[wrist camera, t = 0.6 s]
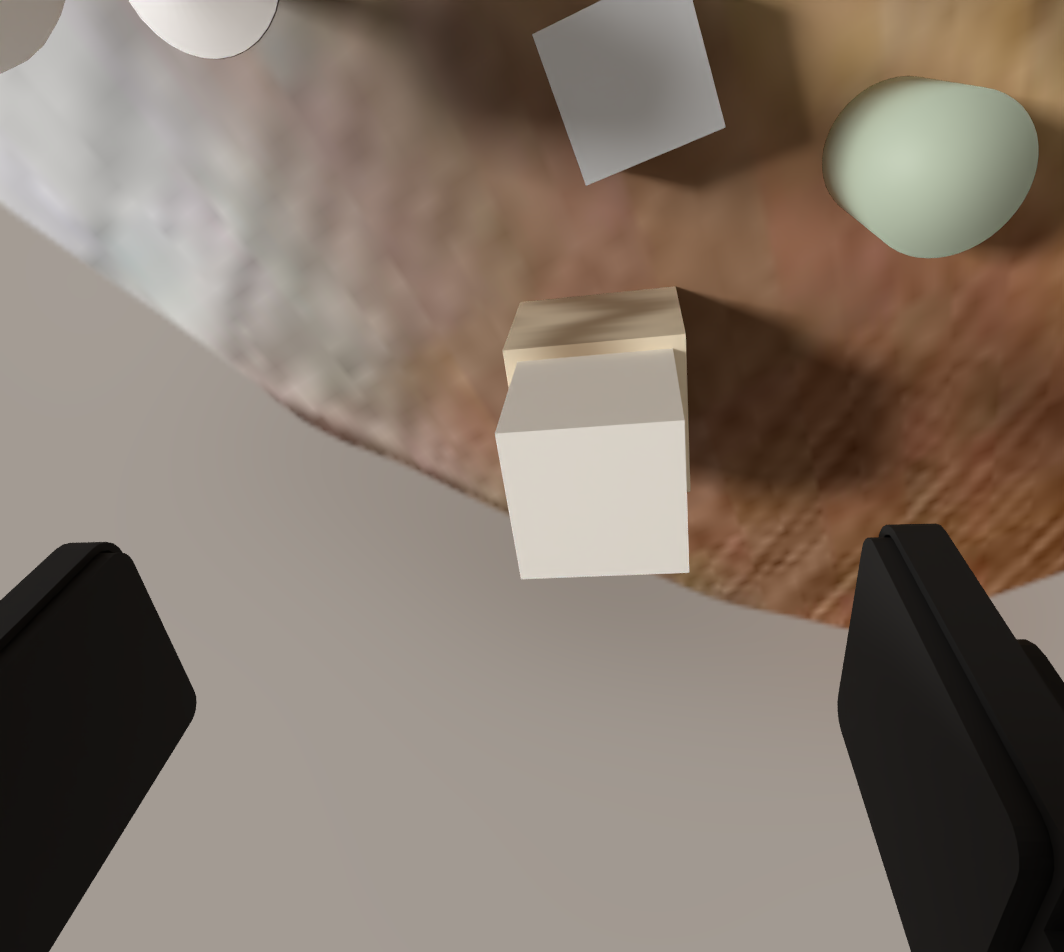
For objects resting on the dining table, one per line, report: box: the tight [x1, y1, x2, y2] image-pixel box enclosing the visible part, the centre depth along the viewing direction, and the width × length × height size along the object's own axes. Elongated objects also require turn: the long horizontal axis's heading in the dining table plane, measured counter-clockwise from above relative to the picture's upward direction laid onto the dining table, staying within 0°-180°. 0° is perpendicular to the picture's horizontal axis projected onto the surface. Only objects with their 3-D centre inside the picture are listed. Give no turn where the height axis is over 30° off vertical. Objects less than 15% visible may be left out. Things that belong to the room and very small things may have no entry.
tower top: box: [495, 348, 689, 579], centre depth 27 cm, size 6×6×6 cm
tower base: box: [503, 287, 690, 492], centre depth 32 cm, size 7×7×6 cm
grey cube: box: [532, 0, 725, 186], centre depth 26 cm, size 5×5×5 cm
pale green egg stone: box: [822, 76, 1039, 258], centre depth 26 cm, size 5×5×6 cm
